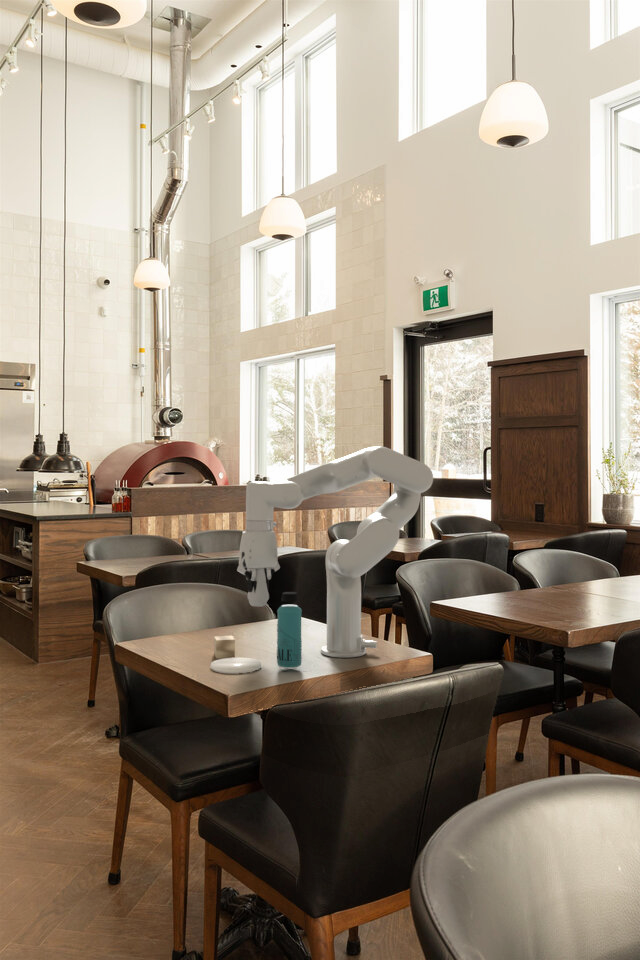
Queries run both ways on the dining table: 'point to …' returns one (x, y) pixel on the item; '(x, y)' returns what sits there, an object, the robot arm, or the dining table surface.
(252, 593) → the salt shaker
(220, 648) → the oak block
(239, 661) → the side plate
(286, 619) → the beverage bottle
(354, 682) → the dining table surface
